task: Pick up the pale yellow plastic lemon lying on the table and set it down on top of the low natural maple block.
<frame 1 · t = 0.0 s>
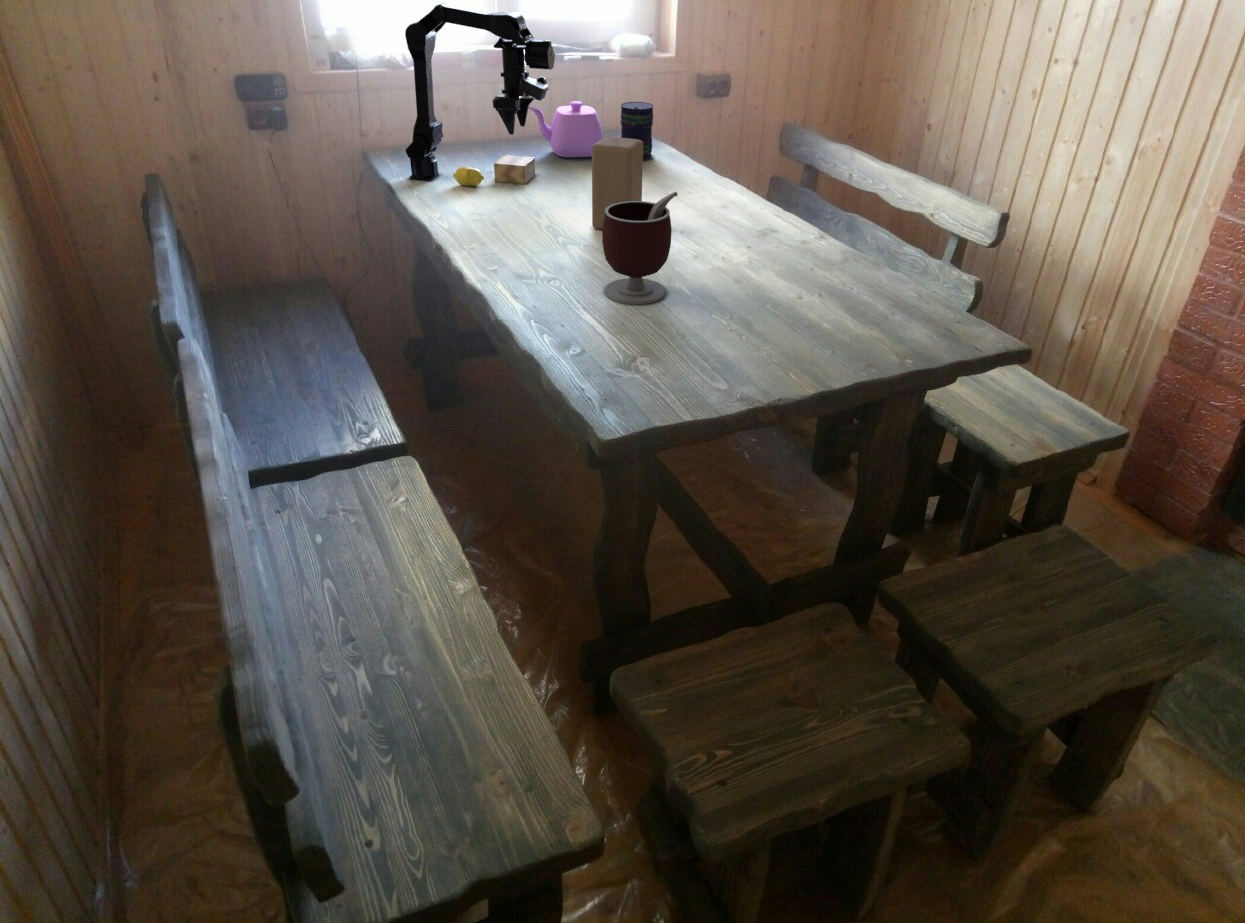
hand: (517, 130, 235), 15 cm above the table, tool pointing down, fingers open, 9 cm apart
lemon: (469, 185, 242), on the table
mate gourd: (638, 292, 183), on the table
storage jar: (635, 157, 269), on the table
maple block: (515, 178, 248), on the table
block: (616, 226, 217), on the table
teapot: (574, 154, 271), on the table
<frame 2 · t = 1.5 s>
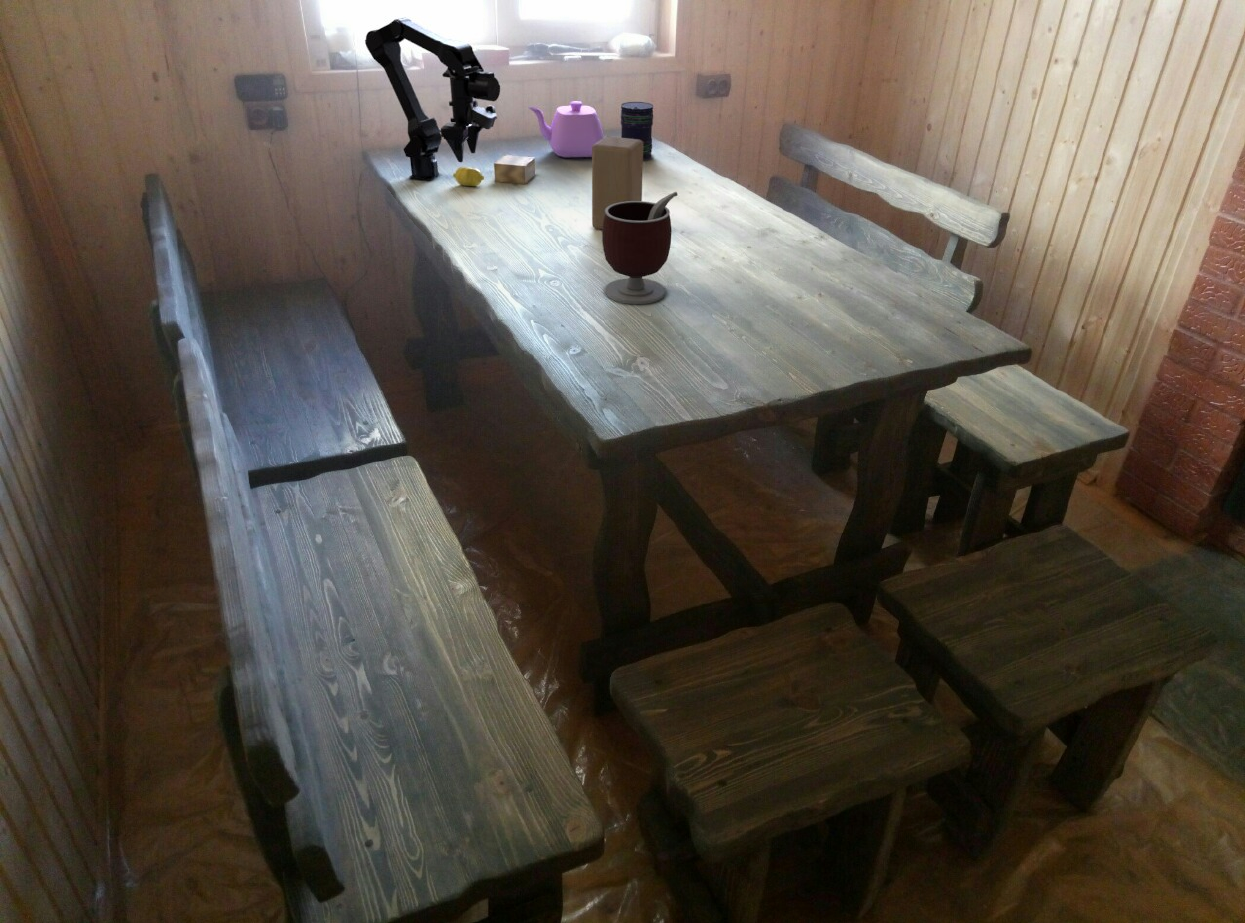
hand: (466, 157, 238), 8 cm above the table, tool pointing down, fingers open, 9 cm apart
nothing on the table moved.
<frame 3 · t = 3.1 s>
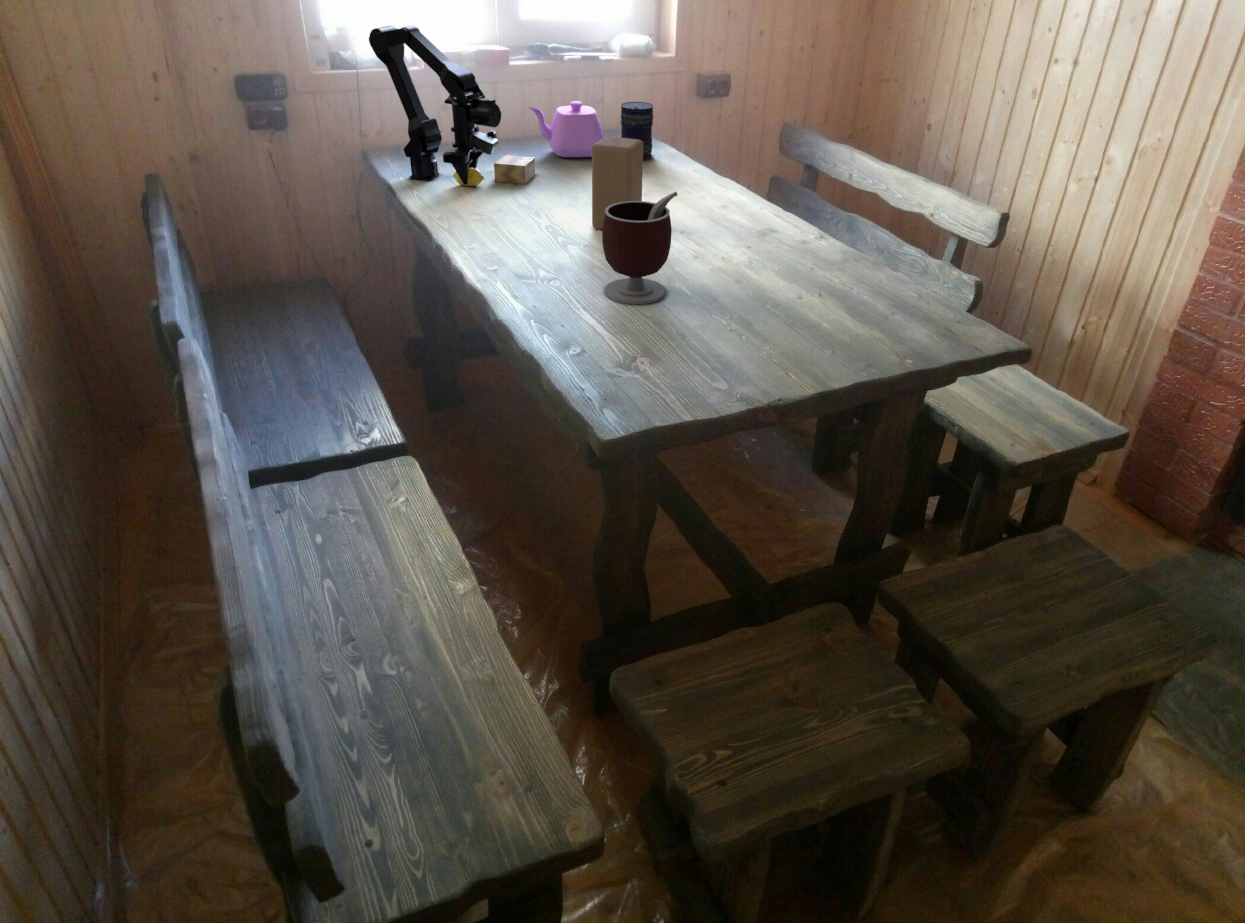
hand: (468, 181, 242), 1 cm above the table, tool pointing down, fingers closed on lemon, 5 cm apart
lemon: (469, 185, 242), on the table, touching gripper
everything else where it was.
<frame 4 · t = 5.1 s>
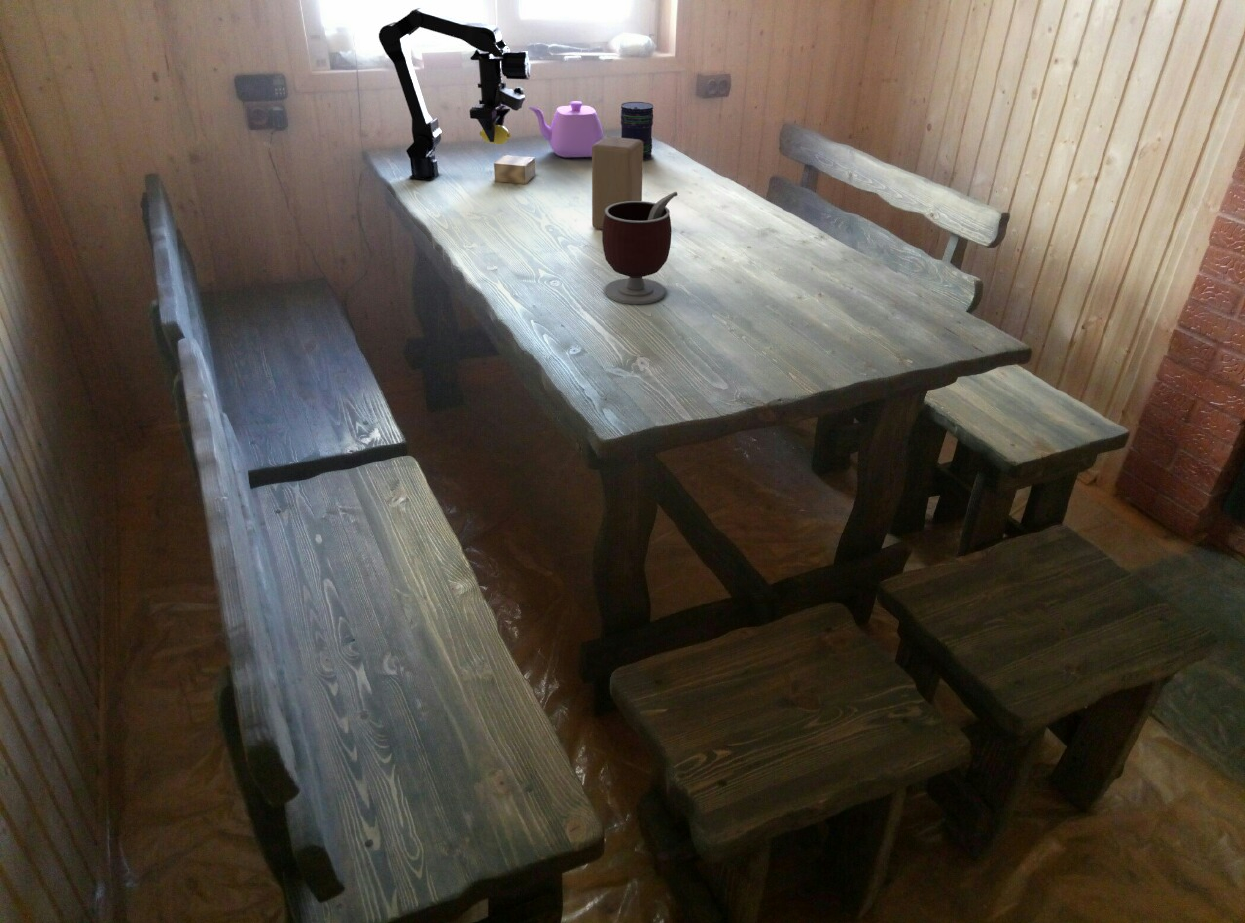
hand: (495, 139, 240), 11 cm above the table, tool pointing down, fingers closed on lemon, 5 cm apart
lemon: (495, 143, 240), point 10 cm above the table, touching gripper
everything else where it was.
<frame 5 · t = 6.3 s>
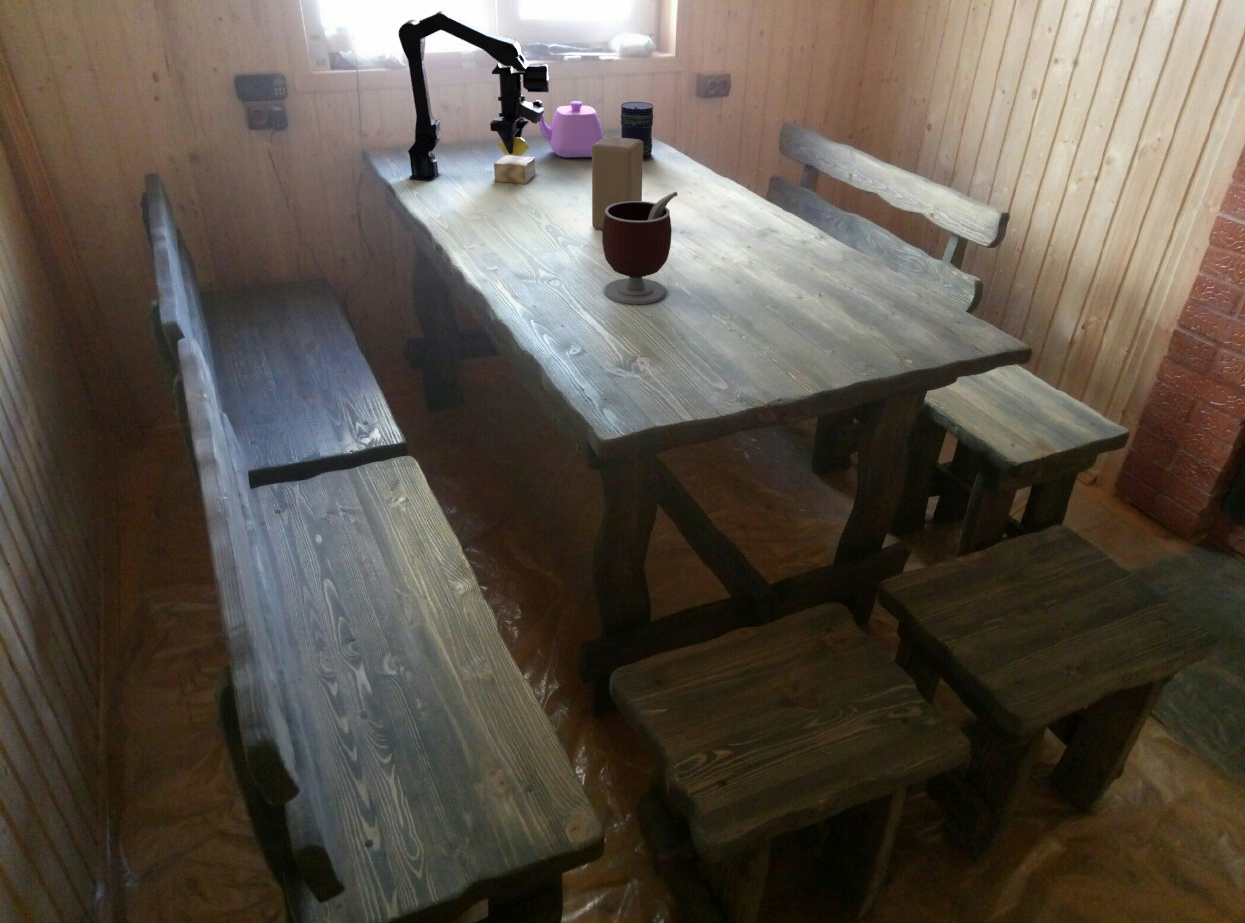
hand: (513, 151, 244), 7 cm above the table, tool pointing down, fingers closed on lemon, 5 cm apart
lemon: (514, 155, 245), point 6 cm above the table, touching gripper
everything else where it was.
when the fingers open (6 cm above the table, at t = 7.2 s): lemon stays where it is, resting on maple block.
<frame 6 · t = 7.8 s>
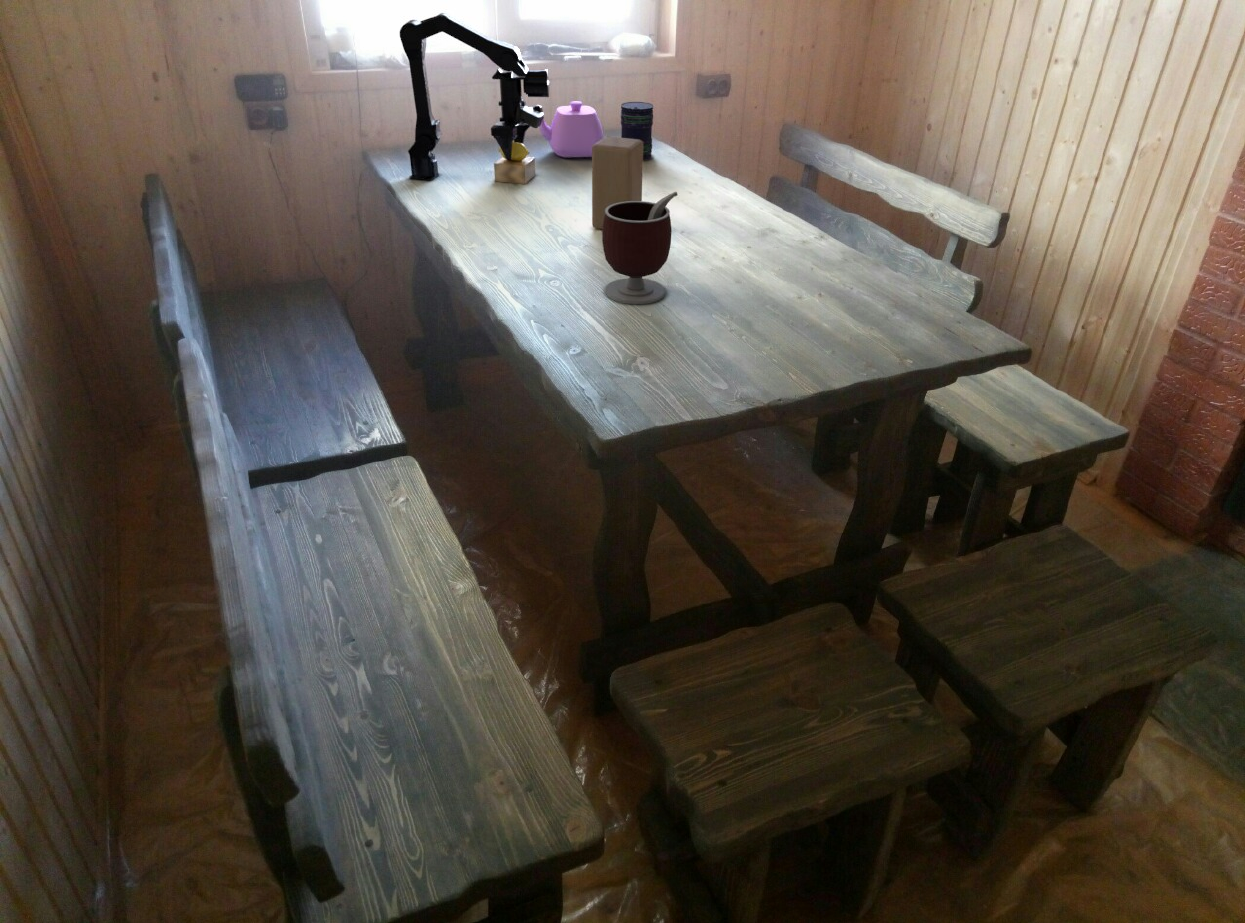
hand: (514, 155, 245), 6 cm above the table, tool pointing down, fingers open, 9 cm apart
lemon: (514, 160, 246), point 5 cm above the table, touching maple block
maple block: (515, 178, 248), on the table, touching lemon
everything else where it was.
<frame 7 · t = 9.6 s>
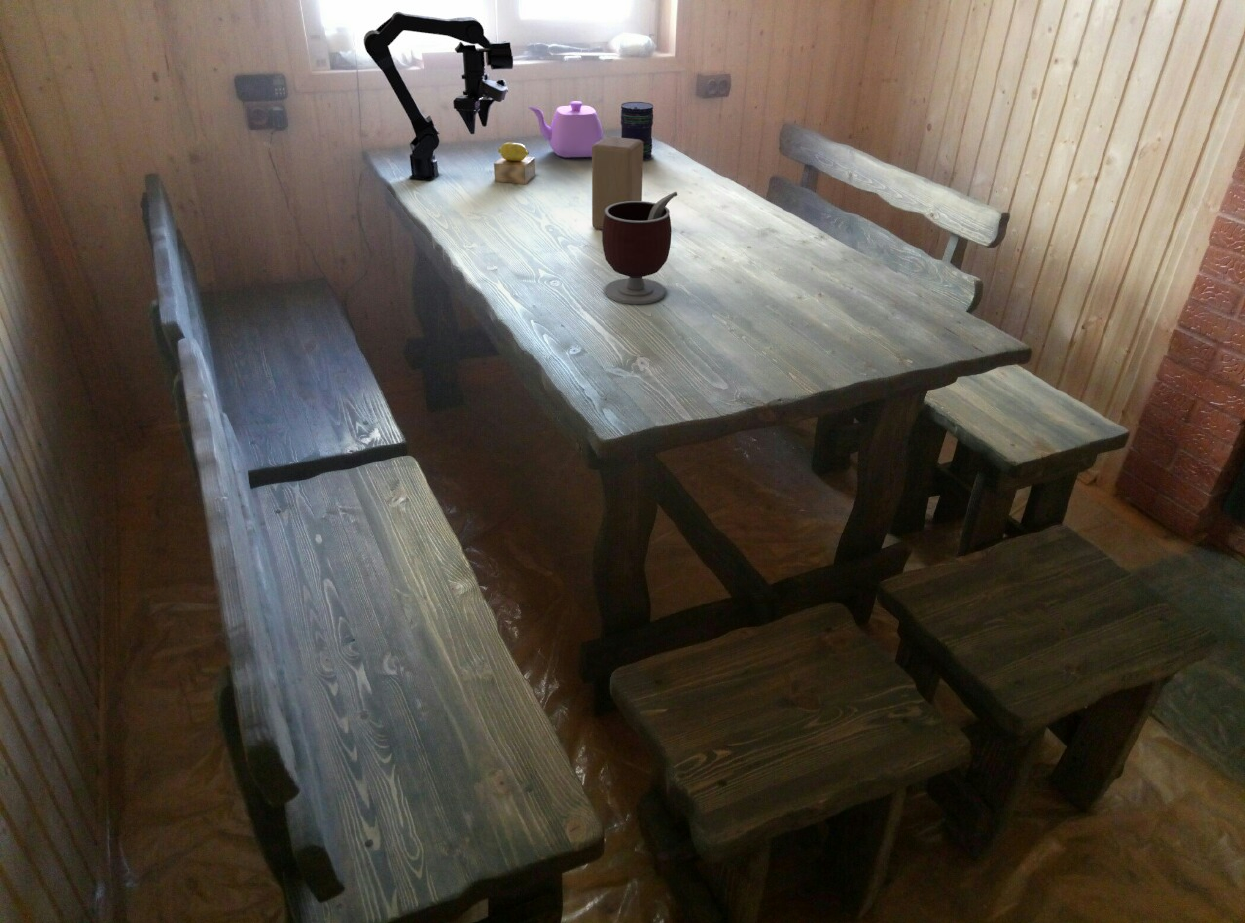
hand: (478, 130, 245), 12 cm above the table, tool pointing down, fingers open, 9 cm apart
lemon: (514, 160, 246), point 5 cm above the table, tilted 12°, touching maple block
everything else where it was.
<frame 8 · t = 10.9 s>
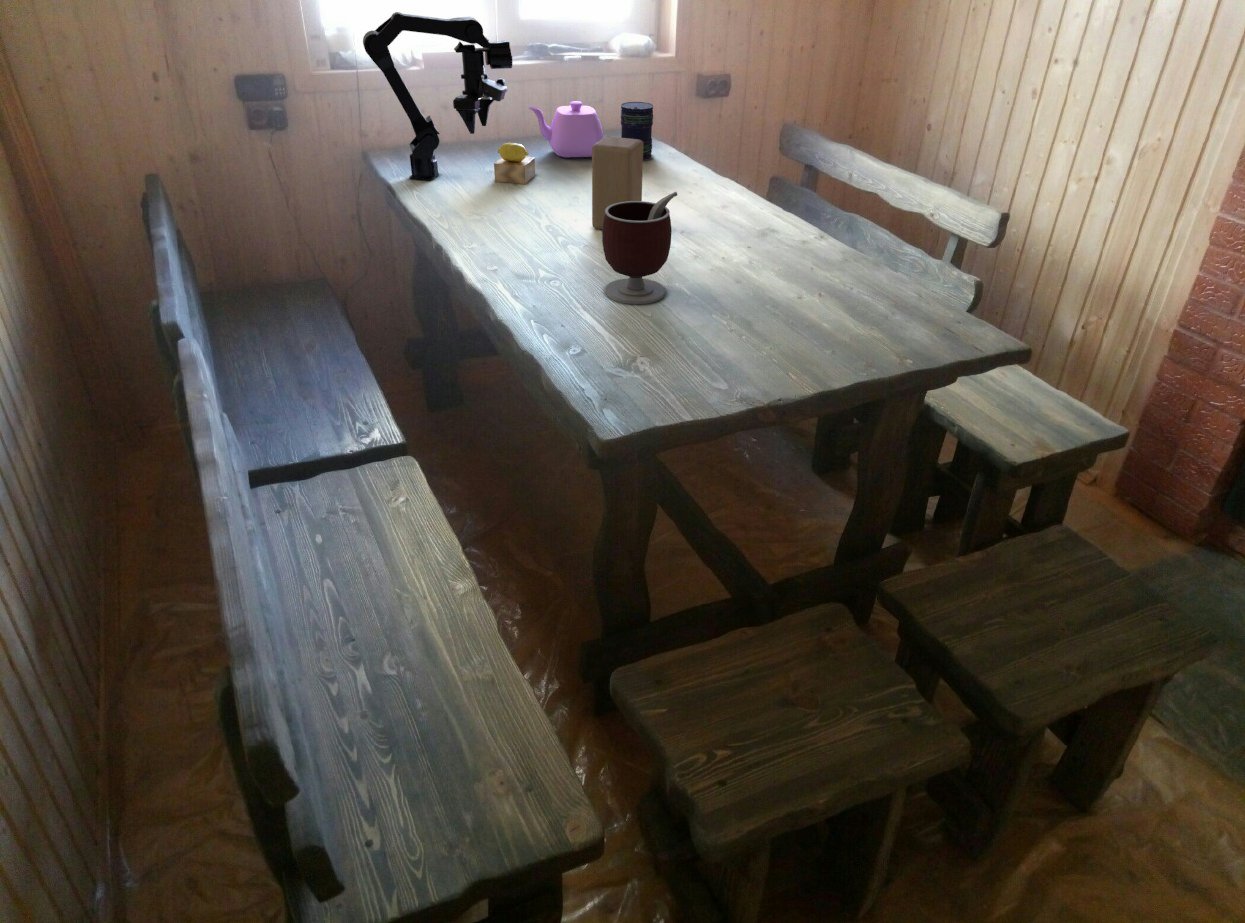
hand: (478, 129, 245), 12 cm above the table, tool pointing down, fingers open, 9 cm apart
lemon: (514, 159, 246), point 5 cm above the table, tilted 24°, touching maple block
everything else where it was.
at the end: lemon inside the target area on the maple block (0.0 cm from its centre), point 5.2 cm above the maple block's base; lemon touching maple block; maple block moved 0.0 cm from its start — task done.
